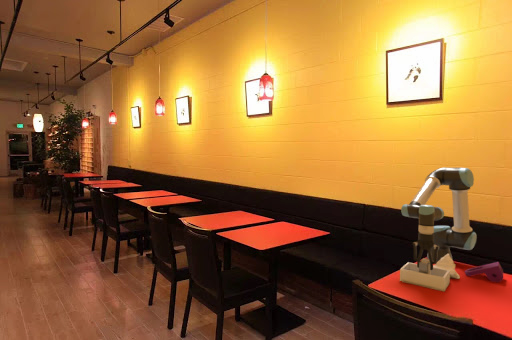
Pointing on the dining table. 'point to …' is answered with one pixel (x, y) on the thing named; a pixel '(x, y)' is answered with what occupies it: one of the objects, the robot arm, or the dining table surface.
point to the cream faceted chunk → (447, 266)
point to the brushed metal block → (424, 266)
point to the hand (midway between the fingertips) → (424, 274)
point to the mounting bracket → (488, 271)
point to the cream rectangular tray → (425, 277)
